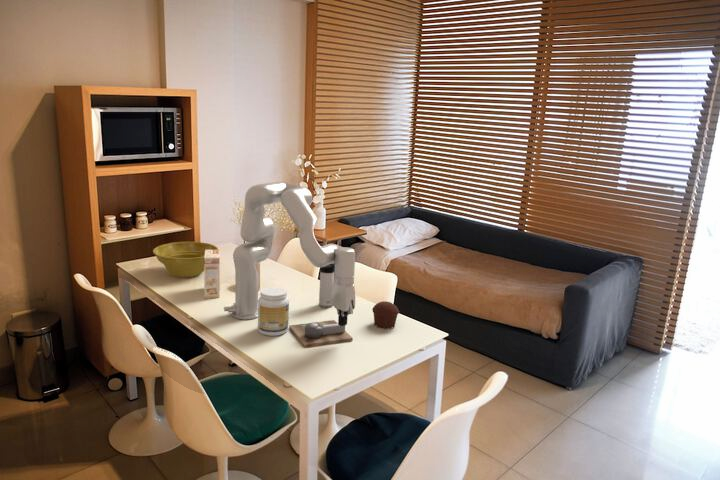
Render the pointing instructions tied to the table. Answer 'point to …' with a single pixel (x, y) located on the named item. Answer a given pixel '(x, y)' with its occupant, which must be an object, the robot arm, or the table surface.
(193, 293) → the table surface
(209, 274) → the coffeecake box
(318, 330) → the grey knobbed bar
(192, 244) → the planter bowl
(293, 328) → the board
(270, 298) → the supplement tub
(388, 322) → the muffin
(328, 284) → the travel mug
